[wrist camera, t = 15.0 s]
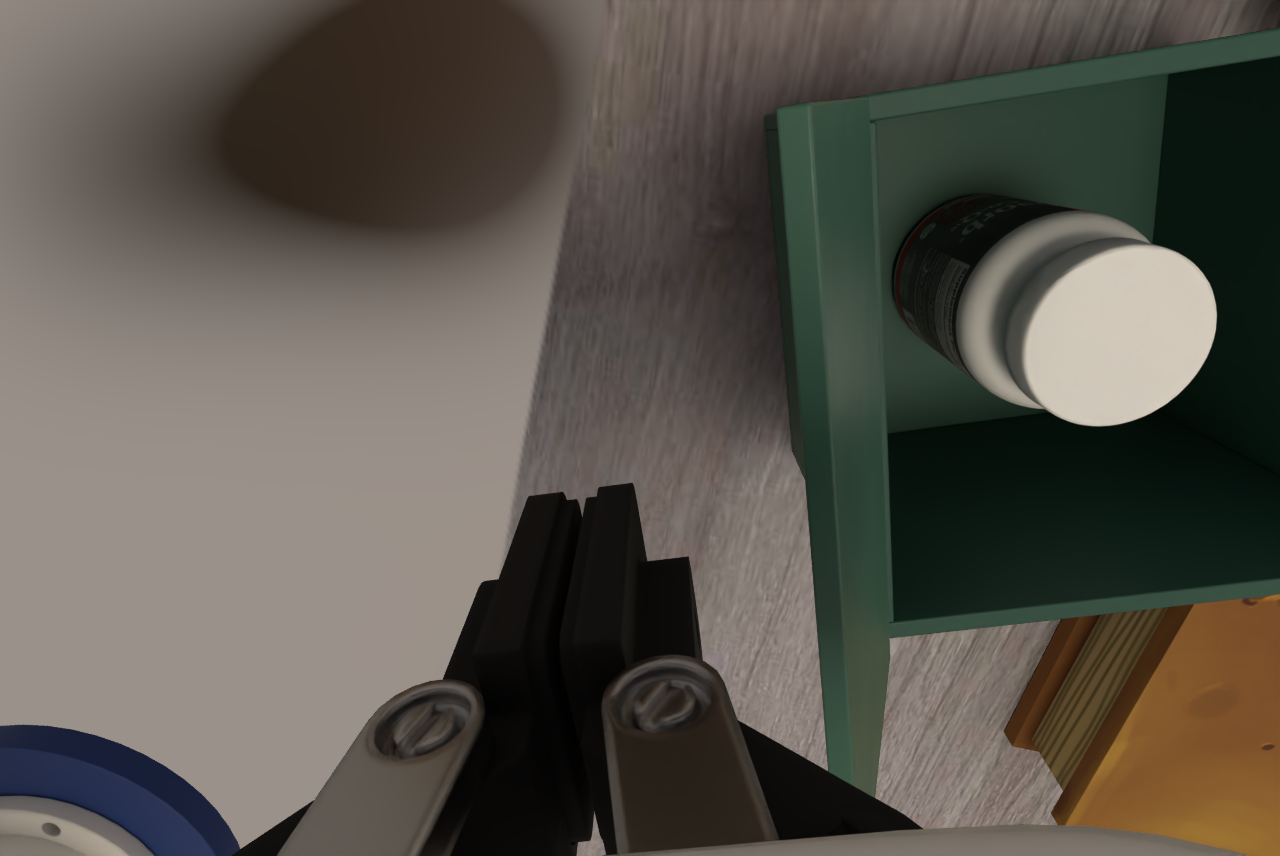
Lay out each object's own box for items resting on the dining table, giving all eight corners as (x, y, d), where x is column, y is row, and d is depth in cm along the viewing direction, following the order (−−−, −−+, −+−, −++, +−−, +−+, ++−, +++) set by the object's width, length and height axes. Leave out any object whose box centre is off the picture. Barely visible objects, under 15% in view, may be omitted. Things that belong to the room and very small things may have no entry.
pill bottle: (1054, 185, 27) (1268, 212, 17) (1037, 341, 29) (1221, 439, 19) (891, 200, 27) (1016, 233, 18) (885, 353, 29) (995, 454, 20)
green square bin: (791, 451, 31) (875, 641, 19) (763, 115, 26) (850, 97, 15) (1142, 406, 30) (1452, 575, 18) (1176, 48, 25) (1618, -28, 14)
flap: (890, 657, 19) (873, 655, 19) (869, 97, 14) (847, 100, 14) (862, 916, 13) (838, 910, 13) (811, 101, 8) (775, 107, 8)
